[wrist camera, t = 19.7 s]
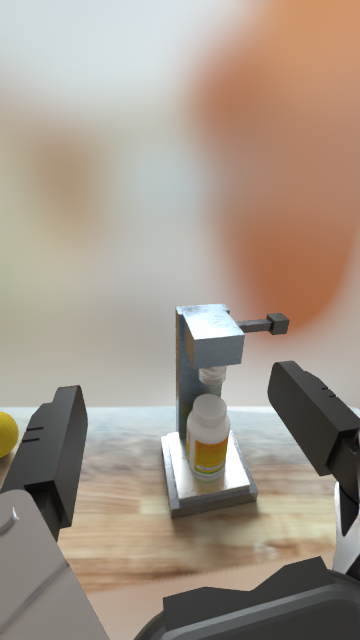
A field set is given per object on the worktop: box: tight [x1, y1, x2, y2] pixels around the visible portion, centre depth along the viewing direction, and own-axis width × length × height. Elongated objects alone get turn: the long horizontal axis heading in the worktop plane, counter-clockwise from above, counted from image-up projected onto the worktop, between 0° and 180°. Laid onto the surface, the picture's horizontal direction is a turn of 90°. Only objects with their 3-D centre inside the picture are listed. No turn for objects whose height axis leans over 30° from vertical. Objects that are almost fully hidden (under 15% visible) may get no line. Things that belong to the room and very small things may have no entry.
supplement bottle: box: [186, 394, 230, 476], centre depth 32 cm, size 5×5×10 cm
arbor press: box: [161, 304, 289, 519], centre depth 31 cm, size 15×11×23 cm
